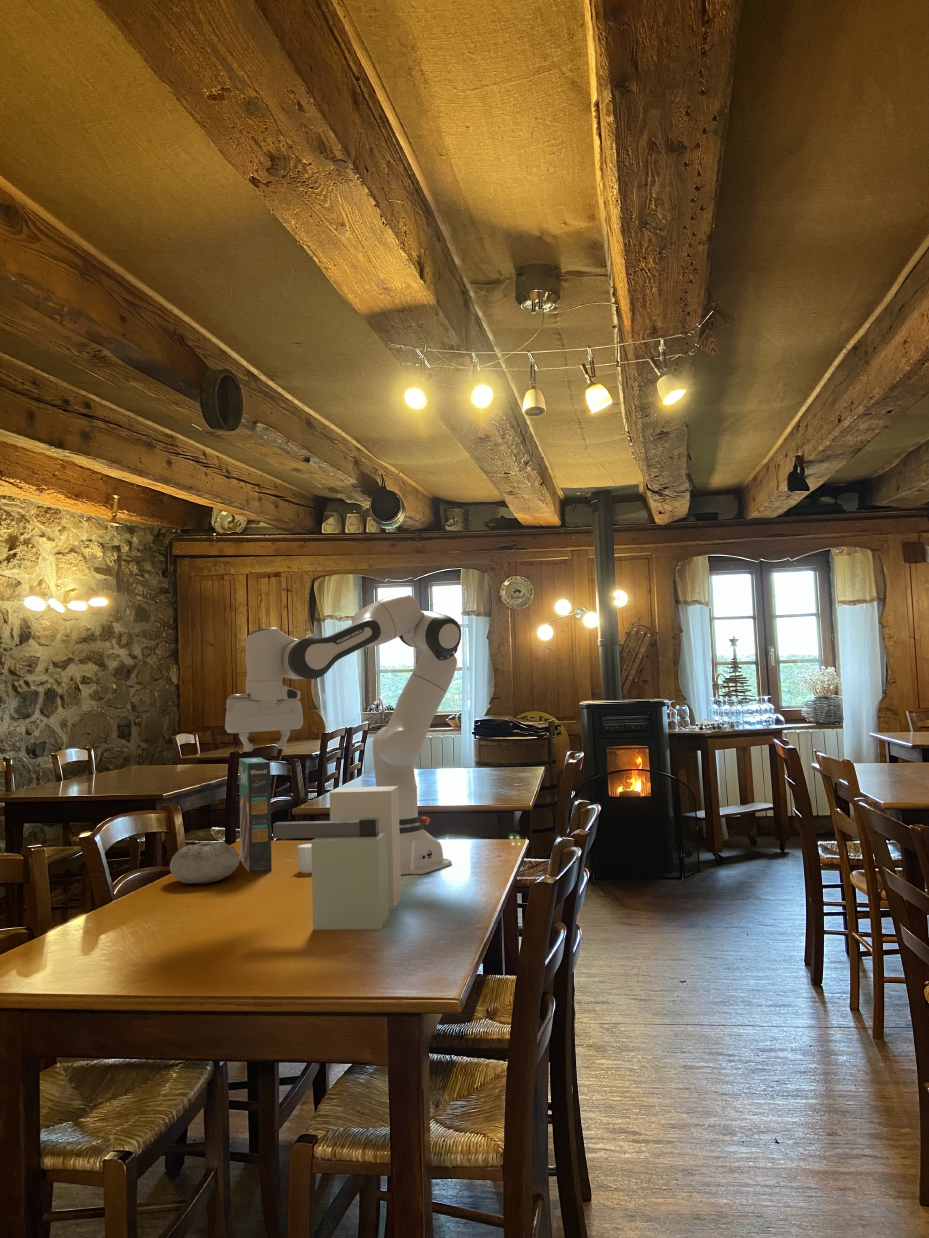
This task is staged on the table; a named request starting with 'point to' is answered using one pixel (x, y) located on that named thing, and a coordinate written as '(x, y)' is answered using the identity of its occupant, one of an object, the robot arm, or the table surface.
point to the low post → (350, 882)
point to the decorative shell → (204, 862)
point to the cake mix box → (255, 814)
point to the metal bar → (327, 829)
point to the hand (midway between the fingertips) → (265, 750)
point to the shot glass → (305, 858)
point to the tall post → (386, 807)
